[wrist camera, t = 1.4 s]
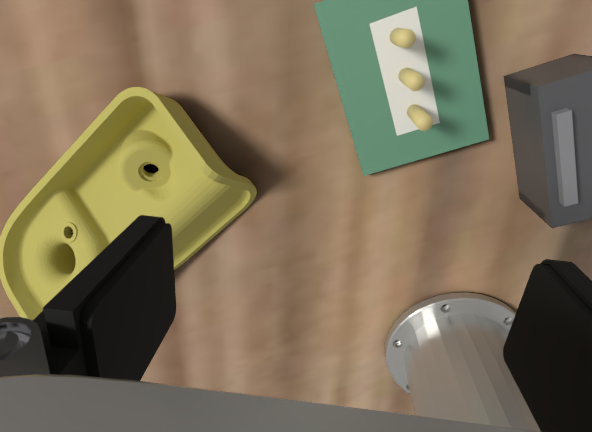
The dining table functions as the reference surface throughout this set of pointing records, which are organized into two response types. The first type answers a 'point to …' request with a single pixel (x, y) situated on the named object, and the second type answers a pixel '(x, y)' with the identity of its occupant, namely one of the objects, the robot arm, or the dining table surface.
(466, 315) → the robot arm
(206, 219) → the plastic component
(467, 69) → the header
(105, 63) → the dining table surface
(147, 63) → the dining table surface
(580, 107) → the plug
